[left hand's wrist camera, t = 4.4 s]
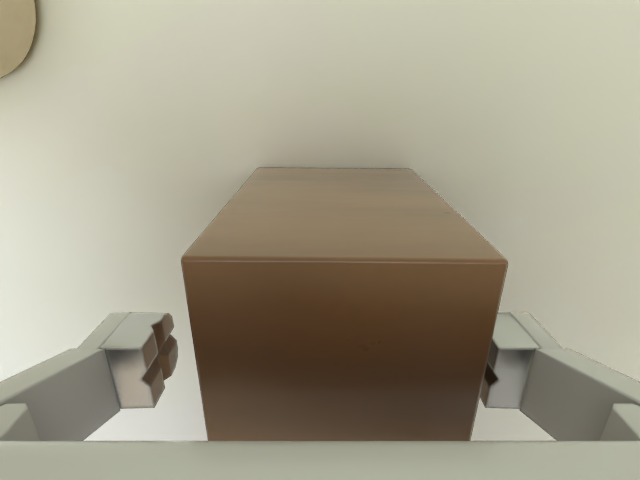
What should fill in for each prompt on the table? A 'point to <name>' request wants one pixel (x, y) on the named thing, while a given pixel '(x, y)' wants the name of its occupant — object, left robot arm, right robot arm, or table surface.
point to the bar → (341, 309)
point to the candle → (15, 32)
